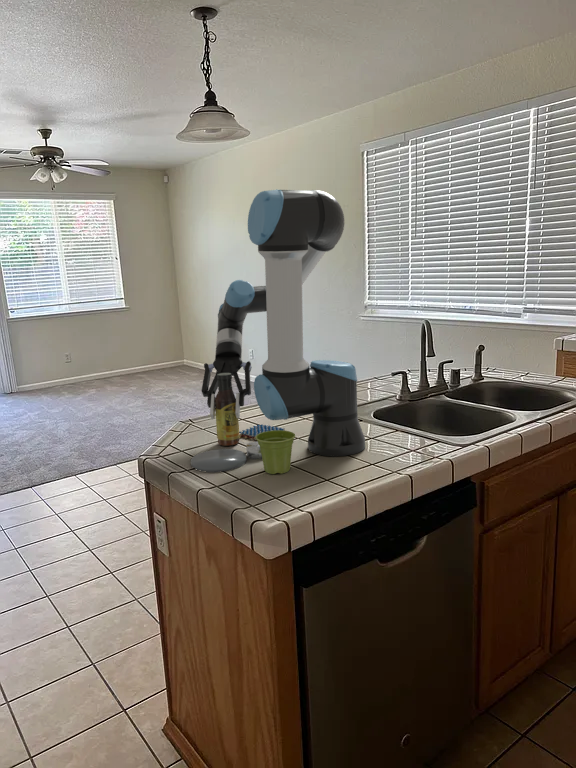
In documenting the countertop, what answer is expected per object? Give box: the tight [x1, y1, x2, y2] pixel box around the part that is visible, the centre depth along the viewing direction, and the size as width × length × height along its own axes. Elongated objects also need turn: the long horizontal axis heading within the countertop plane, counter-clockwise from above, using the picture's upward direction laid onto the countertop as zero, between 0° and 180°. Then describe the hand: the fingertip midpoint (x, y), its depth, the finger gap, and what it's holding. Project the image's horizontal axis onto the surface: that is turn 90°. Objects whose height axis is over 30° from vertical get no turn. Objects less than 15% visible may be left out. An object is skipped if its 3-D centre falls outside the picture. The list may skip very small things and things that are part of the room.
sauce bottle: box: [215, 373, 241, 447], centre depth 156 cm, size 7×6×20 cm
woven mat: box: [239, 423, 285, 441], centre depth 164 cm, size 10×11×2 cm
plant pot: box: [255, 429, 296, 475], centre depth 135 cm, size 9×9×9 cm
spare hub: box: [245, 440, 262, 460], centre depth 147 cm, size 6×6×3 cm
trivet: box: [190, 448, 247, 473], centre depth 143 cm, size 14×14×1 cm
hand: (224, 416), depth 153 cm, fingers closed on sauce bottle, 6 cm apart
